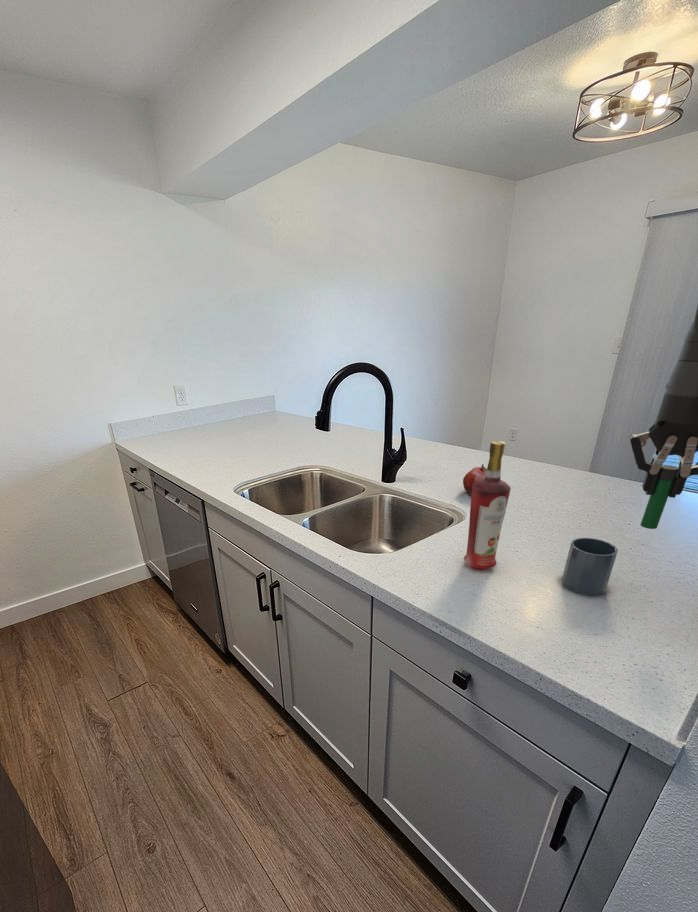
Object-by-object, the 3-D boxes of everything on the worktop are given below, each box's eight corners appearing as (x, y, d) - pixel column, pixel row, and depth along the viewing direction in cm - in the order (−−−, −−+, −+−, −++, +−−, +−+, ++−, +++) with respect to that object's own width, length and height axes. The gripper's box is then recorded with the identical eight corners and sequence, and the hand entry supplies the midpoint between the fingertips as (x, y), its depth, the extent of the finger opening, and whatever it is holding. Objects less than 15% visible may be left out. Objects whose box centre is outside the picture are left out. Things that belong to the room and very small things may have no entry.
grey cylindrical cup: (586, 573, 93) (597, 536, 89) (614, 593, 86) (627, 553, 82) (553, 577, 92) (562, 540, 88) (579, 597, 85) (590, 557, 81)
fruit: (460, 487, 143) (464, 458, 138) (491, 489, 140) (496, 458, 136) (462, 497, 135) (466, 466, 131) (495, 499, 132) (500, 467, 128)
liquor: (484, 555, 102) (503, 437, 90) (503, 571, 95) (526, 445, 83) (455, 560, 101) (470, 440, 89) (472, 575, 94) (491, 449, 82)
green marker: (648, 522, 79) (669, 464, 75) (661, 528, 77) (683, 468, 72) (635, 524, 79) (655, 465, 74) (648, 529, 77) (669, 470, 72)
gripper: (643, 393, 68) (612, 496, 76) (765, 396, 62) (718, 508, 69) (638, 386, 74) (609, 483, 82) (748, 388, 67) (706, 493, 75)
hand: (659, 494), depth 75 cm, fingers closed on green marker, 2 cm apart
